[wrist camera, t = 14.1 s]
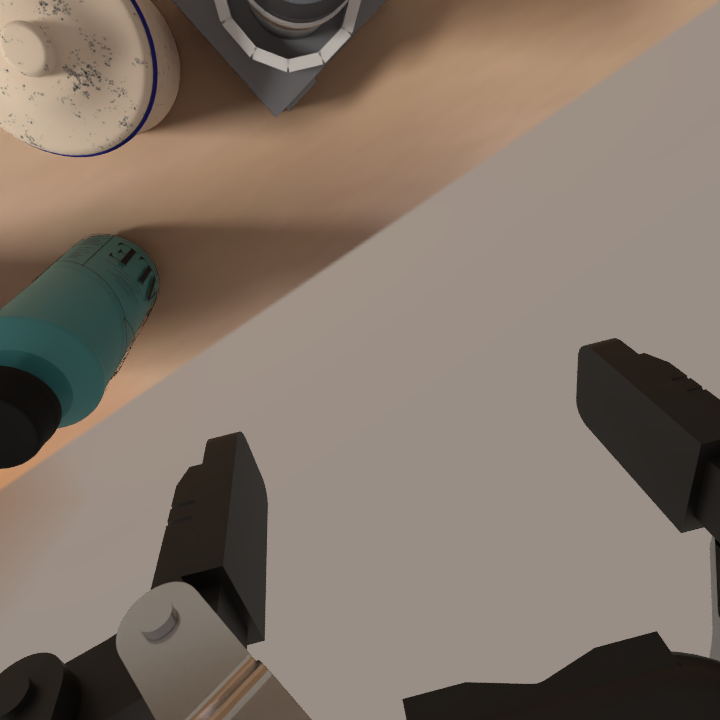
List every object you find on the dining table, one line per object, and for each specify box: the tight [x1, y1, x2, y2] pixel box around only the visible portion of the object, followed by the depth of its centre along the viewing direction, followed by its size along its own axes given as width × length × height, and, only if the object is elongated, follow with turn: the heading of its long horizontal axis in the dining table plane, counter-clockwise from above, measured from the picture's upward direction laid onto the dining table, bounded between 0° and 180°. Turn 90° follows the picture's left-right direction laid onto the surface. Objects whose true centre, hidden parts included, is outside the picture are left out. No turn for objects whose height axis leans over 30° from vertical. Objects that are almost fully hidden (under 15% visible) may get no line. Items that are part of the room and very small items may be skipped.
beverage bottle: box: [0, 234, 160, 469], centre depth 28 cm, size 6×7×20 cm
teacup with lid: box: [0, 0, 180, 157], centre depth 25 cm, size 12×9×12 cm
